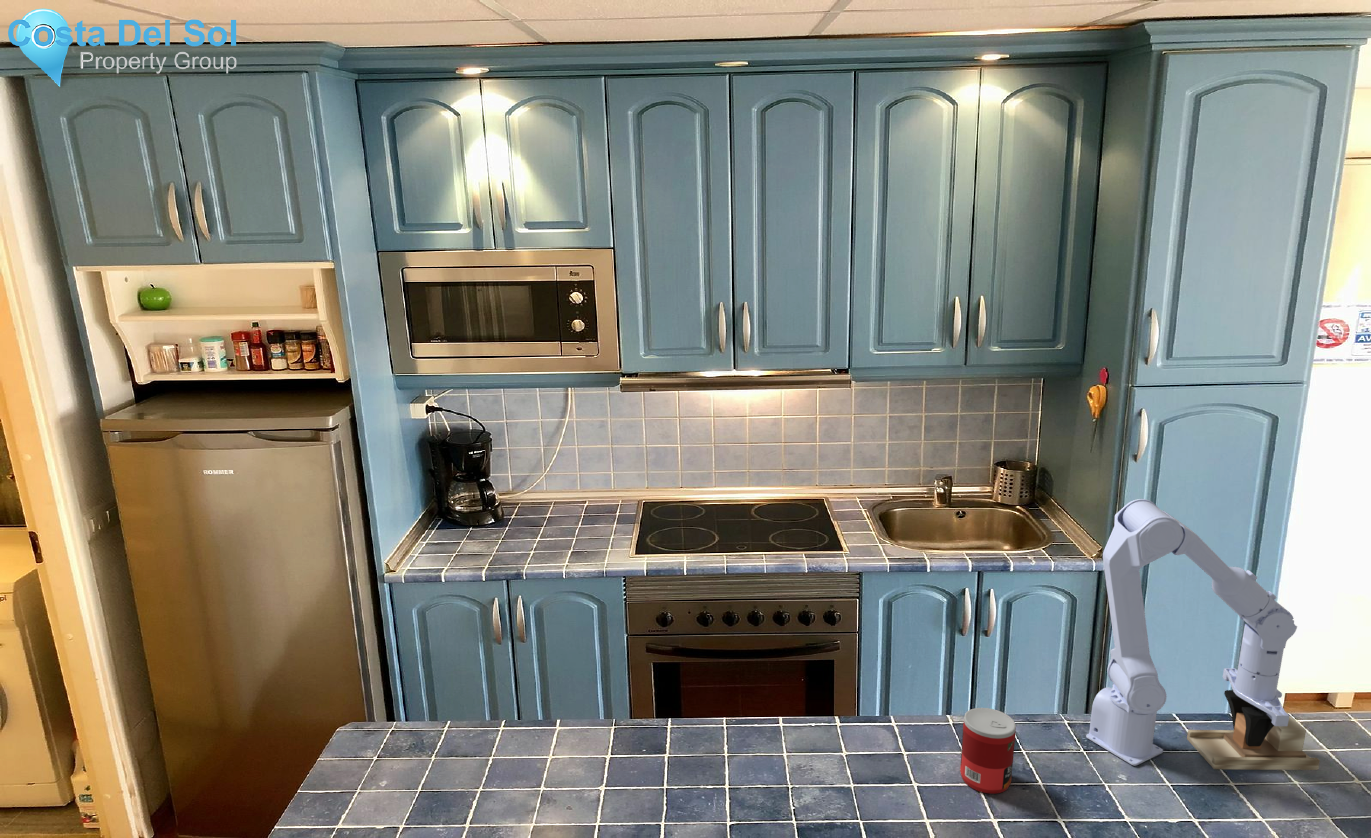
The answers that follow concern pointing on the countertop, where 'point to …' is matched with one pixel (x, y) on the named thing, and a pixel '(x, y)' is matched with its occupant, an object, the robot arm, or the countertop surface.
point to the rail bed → (1228, 758)
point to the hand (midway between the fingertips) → (1247, 739)
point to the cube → (1287, 736)
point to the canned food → (987, 750)
